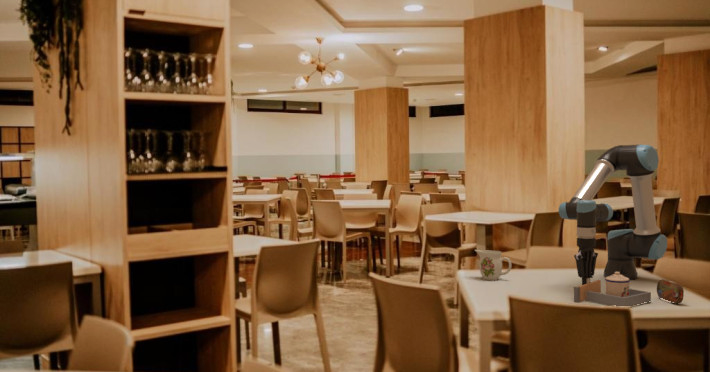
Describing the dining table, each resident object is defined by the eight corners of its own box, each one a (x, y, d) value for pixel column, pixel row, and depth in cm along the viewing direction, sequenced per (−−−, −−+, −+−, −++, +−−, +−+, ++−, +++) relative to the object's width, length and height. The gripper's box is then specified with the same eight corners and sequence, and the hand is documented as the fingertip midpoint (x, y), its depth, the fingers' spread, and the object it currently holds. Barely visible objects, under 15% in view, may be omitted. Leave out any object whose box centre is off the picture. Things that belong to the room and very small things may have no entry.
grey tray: (608, 294, 269) (608, 280, 269) (650, 302, 253) (650, 287, 253) (573, 301, 256) (573, 287, 256) (615, 310, 240) (615, 294, 240)
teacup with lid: (626, 304, 247) (626, 274, 247) (602, 301, 253) (602, 272, 253) (634, 298, 257) (634, 270, 256) (611, 296, 262) (611, 268, 262)
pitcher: (508, 282, 298) (508, 253, 297) (471, 279, 306) (471, 251, 306) (514, 278, 307) (514, 250, 307) (478, 275, 316) (478, 248, 315)
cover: (598, 293, 270) (598, 279, 270) (600, 294, 270) (600, 280, 269) (578, 301, 257) (578, 286, 257) (580, 301, 256) (580, 286, 256)
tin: (655, 297, 261) (656, 277, 261) (663, 297, 262) (663, 277, 261) (677, 306, 246) (677, 284, 246) (685, 305, 247) (685, 284, 246)
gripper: (584, 239, 258) (584, 296, 259) (603, 236, 265) (603, 292, 266) (568, 237, 264) (568, 293, 265) (588, 235, 271) (588, 289, 272)
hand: (586, 293), depth 266 cm, fingers closed
